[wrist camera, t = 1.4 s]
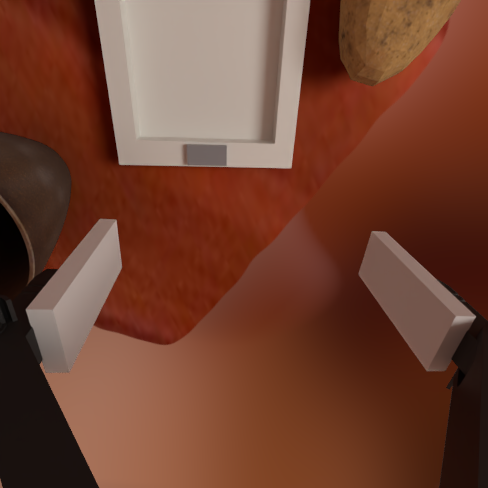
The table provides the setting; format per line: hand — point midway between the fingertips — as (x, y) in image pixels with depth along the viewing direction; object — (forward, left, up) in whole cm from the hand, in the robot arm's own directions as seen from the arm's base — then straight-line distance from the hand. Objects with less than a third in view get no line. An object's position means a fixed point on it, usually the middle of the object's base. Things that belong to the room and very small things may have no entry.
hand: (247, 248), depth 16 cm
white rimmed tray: (-10, -3, -21) cm, 24 cm away
